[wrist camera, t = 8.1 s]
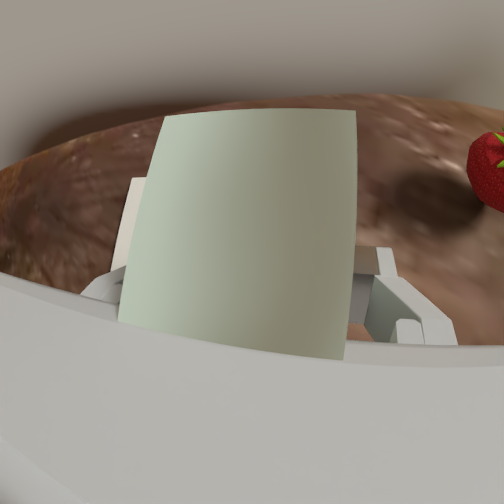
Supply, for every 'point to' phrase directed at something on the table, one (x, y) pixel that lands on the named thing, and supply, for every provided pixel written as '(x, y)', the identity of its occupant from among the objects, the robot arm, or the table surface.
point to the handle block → (248, 231)
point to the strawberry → (488, 169)
